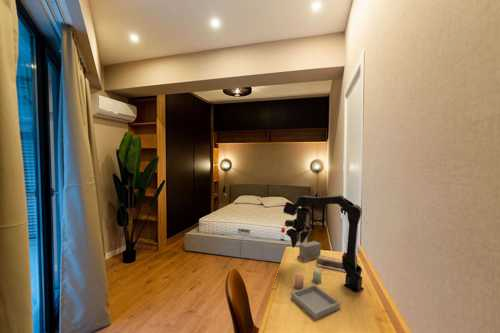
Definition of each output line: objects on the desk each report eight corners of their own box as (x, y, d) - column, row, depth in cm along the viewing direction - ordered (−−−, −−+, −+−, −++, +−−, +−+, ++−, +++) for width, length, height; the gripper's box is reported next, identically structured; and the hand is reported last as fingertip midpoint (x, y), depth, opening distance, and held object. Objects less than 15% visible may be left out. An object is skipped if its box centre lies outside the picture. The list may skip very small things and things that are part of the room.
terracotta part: (304, 288, 100) (305, 277, 100) (298, 290, 98) (299, 279, 98) (299, 283, 104) (299, 273, 103) (292, 285, 102) (293, 275, 102)
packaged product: (316, 259, 121) (317, 252, 130) (316, 267, 121) (317, 260, 130) (351, 266, 114) (350, 258, 124) (350, 275, 114) (349, 266, 124)
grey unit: (321, 257, 133) (322, 243, 132) (304, 262, 125) (304, 247, 125) (314, 253, 138) (315, 240, 138) (297, 258, 131) (297, 243, 130)
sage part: (322, 281, 106) (323, 272, 106) (317, 283, 104) (317, 273, 104) (316, 277, 110) (317, 268, 109) (311, 279, 108) (311, 270, 107)
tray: (339, 308, 87) (340, 302, 87) (315, 320, 80) (315, 313, 80) (314, 289, 99) (314, 284, 99) (291, 298, 92) (291, 292, 92)
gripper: (297, 211, 129) (293, 235, 130) (280, 216, 115) (276, 243, 116) (314, 217, 121) (309, 243, 123) (298, 223, 108) (293, 252, 109)
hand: (297, 245), depth 118 cm, fingers open, 9 cm apart
